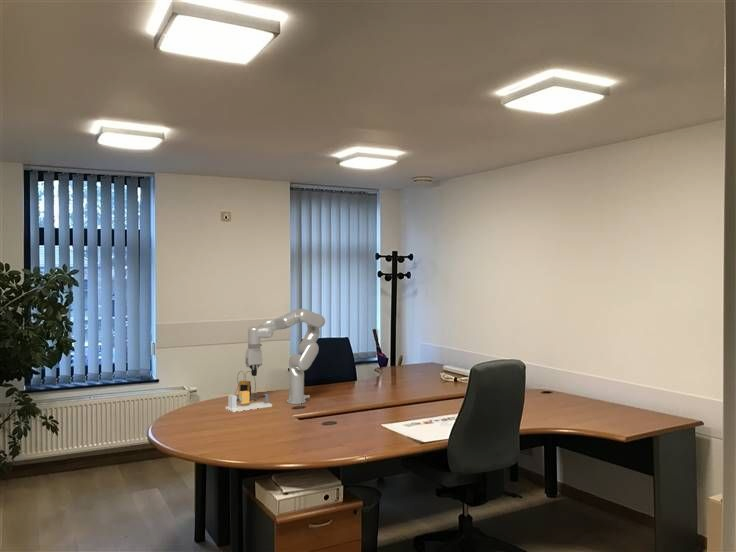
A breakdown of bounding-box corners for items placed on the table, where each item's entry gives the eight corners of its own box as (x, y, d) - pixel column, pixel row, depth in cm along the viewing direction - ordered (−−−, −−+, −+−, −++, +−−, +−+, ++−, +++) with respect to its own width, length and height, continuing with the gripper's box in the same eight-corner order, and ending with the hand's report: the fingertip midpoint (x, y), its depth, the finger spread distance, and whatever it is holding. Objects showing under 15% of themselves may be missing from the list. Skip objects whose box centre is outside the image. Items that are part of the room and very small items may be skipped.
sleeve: (246, 401, 365) (246, 390, 365) (249, 402, 362) (249, 391, 362) (239, 402, 362) (239, 391, 362) (242, 403, 359) (242, 392, 359)
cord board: (264, 403, 377) (264, 389, 377) (272, 406, 369) (272, 392, 369) (225, 409, 360) (225, 394, 360) (233, 412, 352) (233, 397, 352)
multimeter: (258, 398, 390) (259, 369, 390) (254, 402, 381) (255, 371, 381) (237, 398, 392) (238, 368, 392) (232, 401, 382) (233, 370, 382)
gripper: (261, 344, 374) (261, 373, 374) (240, 346, 364) (240, 376, 364) (267, 346, 368) (267, 375, 368) (246, 348, 358) (246, 378, 359)
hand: (254, 375), depth 366 cm, fingers closed
